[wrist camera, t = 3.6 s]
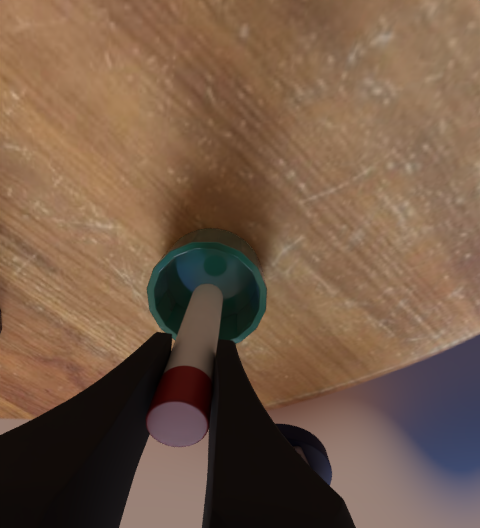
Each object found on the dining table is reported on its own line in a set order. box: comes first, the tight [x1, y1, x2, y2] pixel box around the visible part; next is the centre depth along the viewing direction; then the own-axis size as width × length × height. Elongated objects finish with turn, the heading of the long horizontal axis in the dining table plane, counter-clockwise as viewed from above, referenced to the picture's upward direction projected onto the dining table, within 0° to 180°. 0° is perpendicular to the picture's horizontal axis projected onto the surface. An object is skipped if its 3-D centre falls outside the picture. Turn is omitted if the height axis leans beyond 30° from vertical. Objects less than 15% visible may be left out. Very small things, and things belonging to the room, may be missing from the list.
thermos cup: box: [147, 228, 267, 344], centre depth 17 cm, size 7×7×4 cm
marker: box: [145, 284, 223, 447], centre depth 12 cm, size 2×2×8 cm
